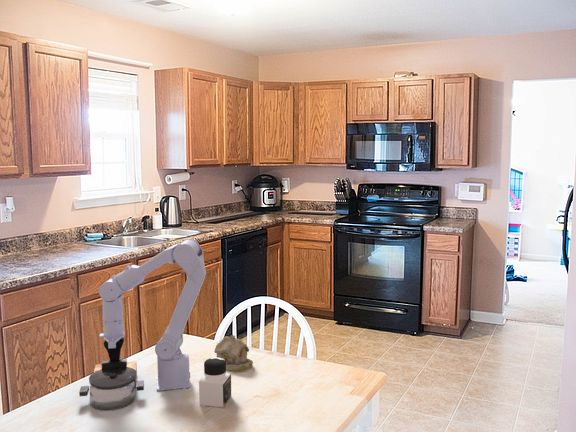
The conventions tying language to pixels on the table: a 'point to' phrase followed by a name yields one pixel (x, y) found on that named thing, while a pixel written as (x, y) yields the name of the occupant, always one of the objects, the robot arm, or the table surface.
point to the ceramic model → (233, 354)
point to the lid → (113, 374)
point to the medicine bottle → (215, 383)
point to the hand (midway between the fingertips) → (114, 363)
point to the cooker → (112, 393)
